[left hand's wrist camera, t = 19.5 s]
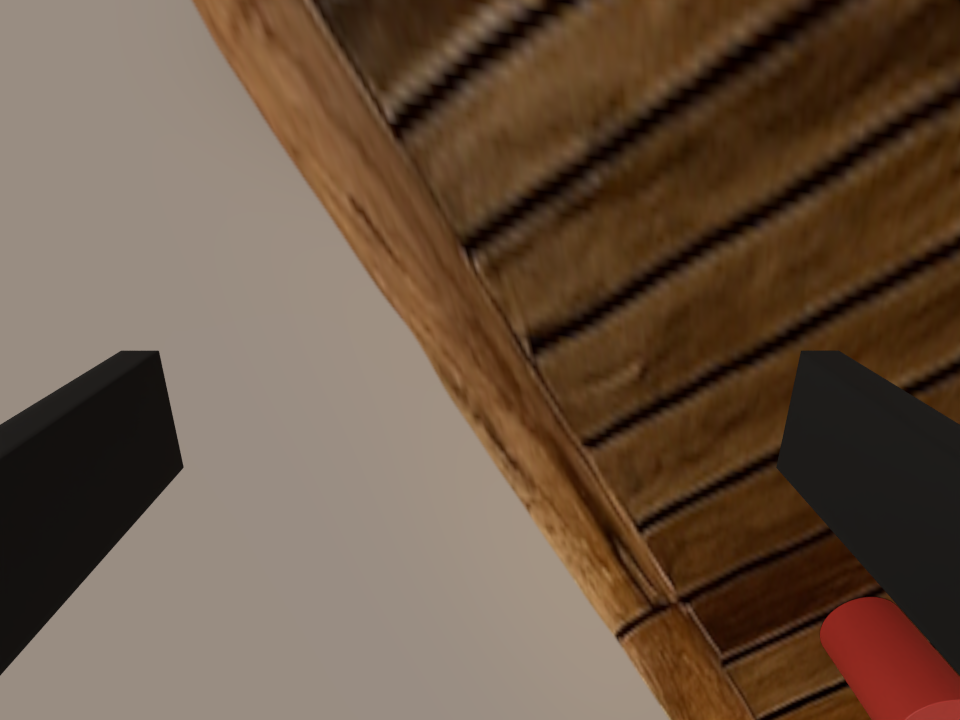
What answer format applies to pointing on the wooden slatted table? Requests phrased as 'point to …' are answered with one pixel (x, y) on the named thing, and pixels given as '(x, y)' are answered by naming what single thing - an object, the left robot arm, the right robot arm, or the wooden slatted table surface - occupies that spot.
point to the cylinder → (890, 662)
